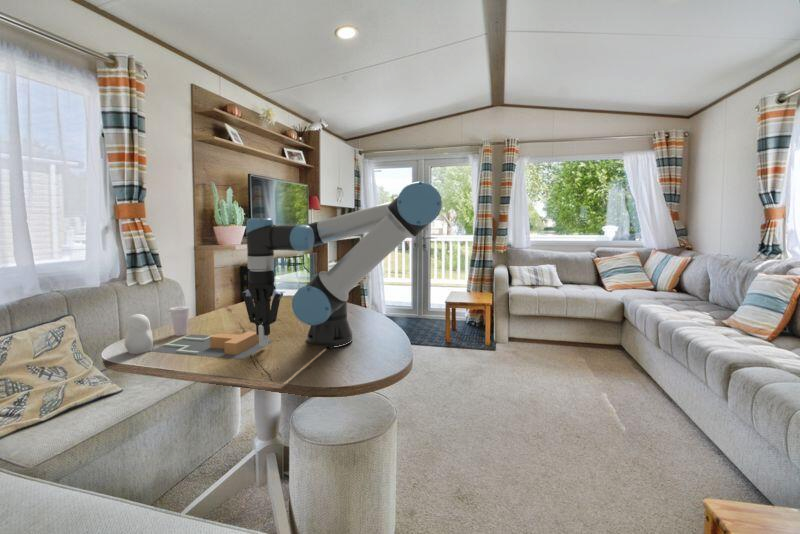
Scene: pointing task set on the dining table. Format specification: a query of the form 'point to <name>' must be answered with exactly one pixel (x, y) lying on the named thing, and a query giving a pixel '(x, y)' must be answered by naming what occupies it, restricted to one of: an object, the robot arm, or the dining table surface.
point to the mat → (207, 348)
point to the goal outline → (184, 347)
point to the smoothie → (180, 318)
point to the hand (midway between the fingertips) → (263, 345)
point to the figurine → (138, 334)
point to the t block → (234, 342)
